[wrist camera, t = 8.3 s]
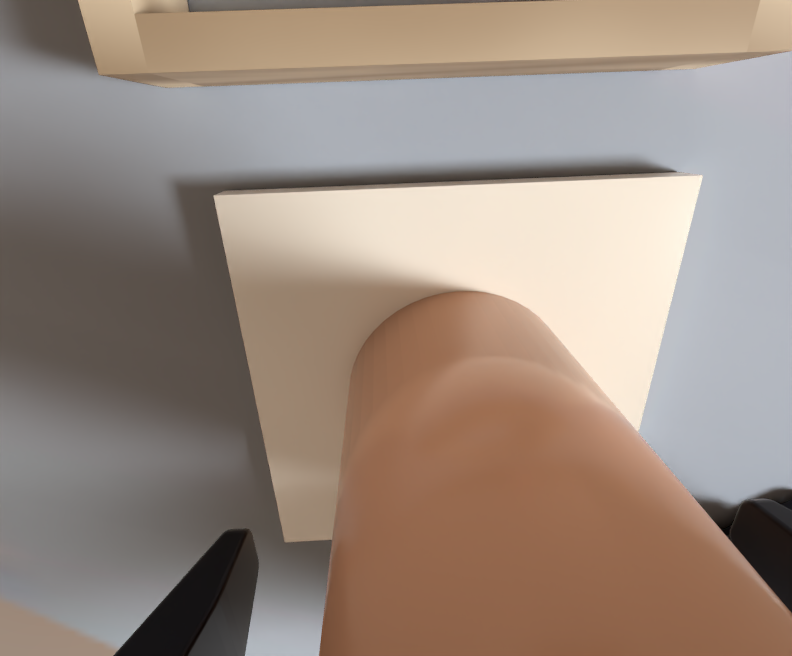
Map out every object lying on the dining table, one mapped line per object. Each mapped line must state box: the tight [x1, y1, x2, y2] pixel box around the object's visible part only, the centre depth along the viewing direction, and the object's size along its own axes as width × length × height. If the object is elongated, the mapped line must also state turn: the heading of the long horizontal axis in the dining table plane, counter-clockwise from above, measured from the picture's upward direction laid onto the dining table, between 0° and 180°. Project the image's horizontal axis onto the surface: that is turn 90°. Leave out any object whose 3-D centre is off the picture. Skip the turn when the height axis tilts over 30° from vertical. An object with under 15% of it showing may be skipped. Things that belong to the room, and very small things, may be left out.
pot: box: [319, 291, 792, 656], centre depth 8 cm, size 6×6×9 cm
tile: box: [214, 172, 703, 542], centre depth 12 cm, size 11×11×1 cm
